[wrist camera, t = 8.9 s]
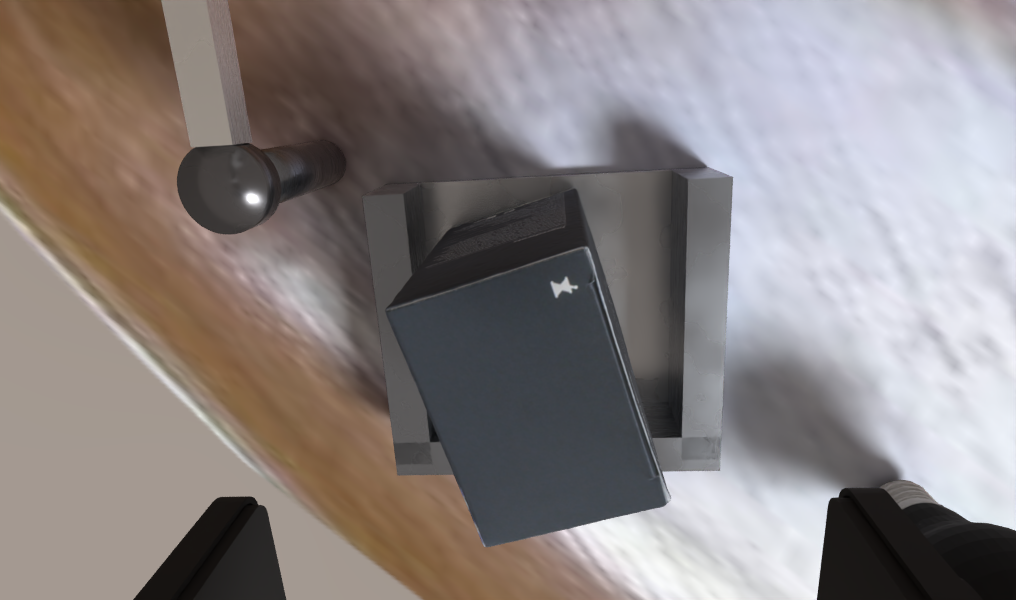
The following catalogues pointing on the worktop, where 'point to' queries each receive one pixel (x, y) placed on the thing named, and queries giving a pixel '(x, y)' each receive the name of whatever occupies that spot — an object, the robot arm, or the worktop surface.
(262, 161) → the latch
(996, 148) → the worktop surface
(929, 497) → the light bulb
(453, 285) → the box
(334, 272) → the worktop surface
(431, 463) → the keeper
